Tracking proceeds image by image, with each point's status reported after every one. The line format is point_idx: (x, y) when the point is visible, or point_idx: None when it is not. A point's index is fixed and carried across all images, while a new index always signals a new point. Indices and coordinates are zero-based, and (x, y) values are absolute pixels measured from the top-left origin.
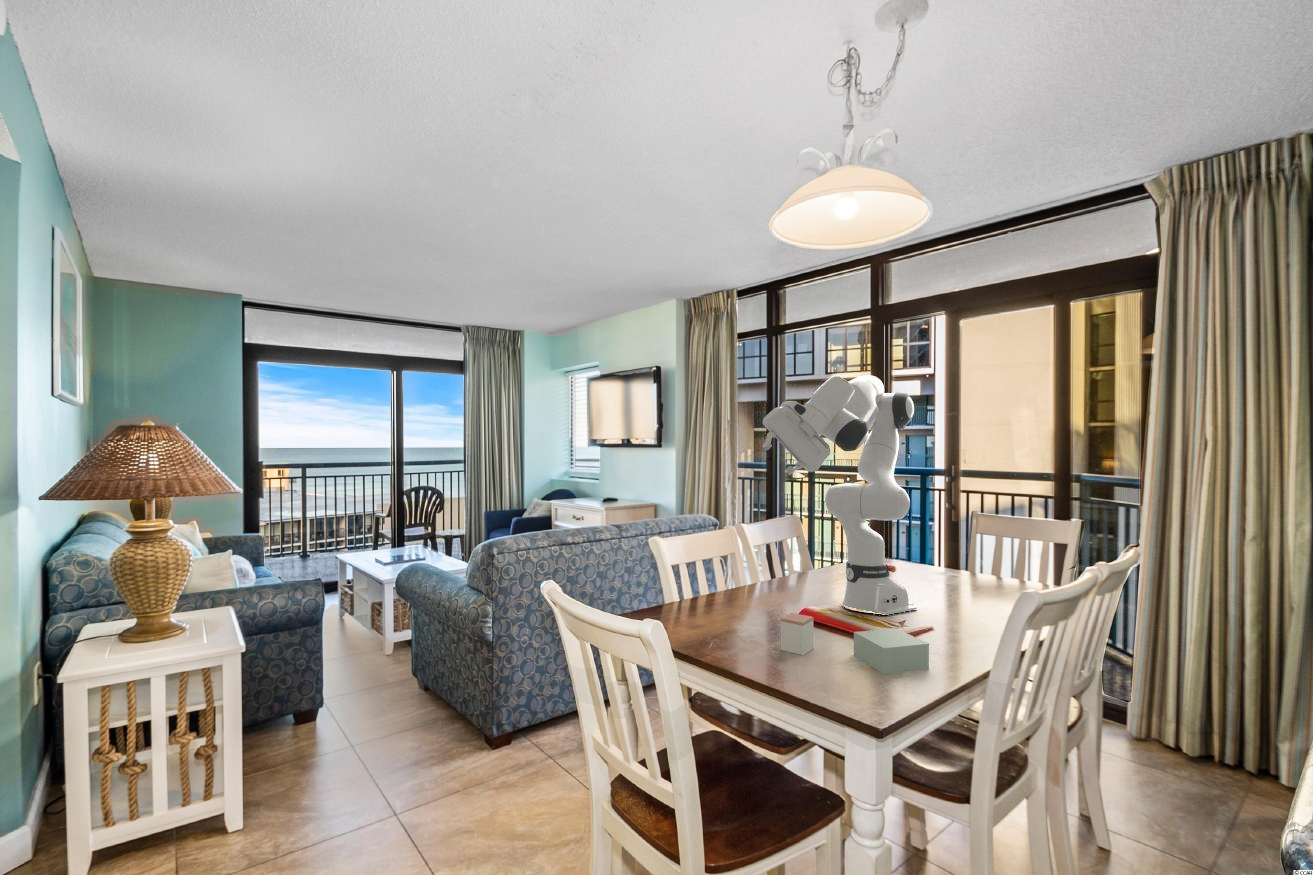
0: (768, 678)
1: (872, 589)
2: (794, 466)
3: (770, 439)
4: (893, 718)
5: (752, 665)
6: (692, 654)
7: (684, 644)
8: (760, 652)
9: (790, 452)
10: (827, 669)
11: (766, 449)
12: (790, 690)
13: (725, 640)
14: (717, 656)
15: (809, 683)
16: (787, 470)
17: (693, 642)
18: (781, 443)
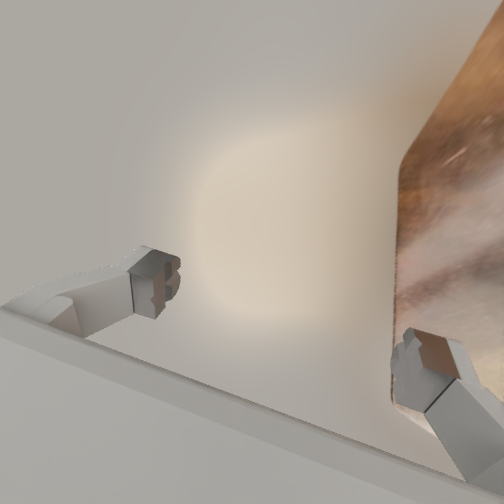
0: (410, 288)
1: None
2: (496, 424)
3: (100, 322)
4: (418, 421)
5: (430, 253)
6: (403, 174)
7: (424, 132)
8: (487, 232)
9: (347, 454)
10: (501, 344)
11: (173, 275)
12: (402, 320)
13: (495, 151)
14: (422, 201)
15: (433, 333)
16: (394, 352)
17: (441, 131)
18: (172, 381)
